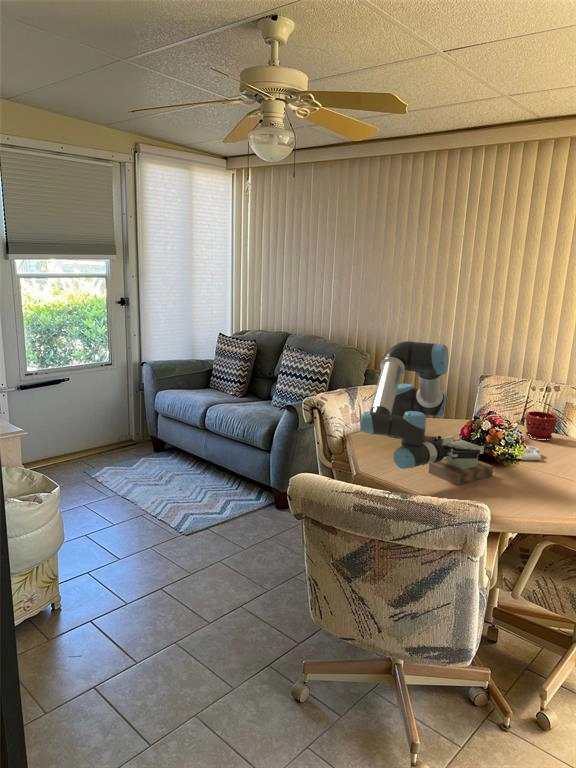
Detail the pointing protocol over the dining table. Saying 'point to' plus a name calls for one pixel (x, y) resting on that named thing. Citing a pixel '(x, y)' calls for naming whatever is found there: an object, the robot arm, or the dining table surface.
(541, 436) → the plant pot
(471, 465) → the green block
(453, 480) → the block
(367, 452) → the dining table surface
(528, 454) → the white brass knuckles
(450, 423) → the dining table surface
